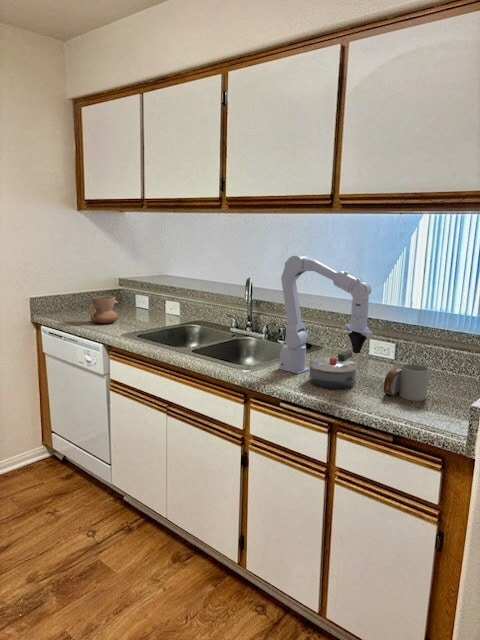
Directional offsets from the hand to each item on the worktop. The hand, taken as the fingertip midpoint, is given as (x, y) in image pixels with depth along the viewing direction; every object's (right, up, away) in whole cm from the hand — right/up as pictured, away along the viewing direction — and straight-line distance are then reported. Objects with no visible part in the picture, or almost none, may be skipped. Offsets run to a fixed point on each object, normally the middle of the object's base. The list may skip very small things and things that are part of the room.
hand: (356, 352), depth 176 cm
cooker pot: (-8, -10, +1) cm, 13 cm away
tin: (+11, -13, -10) cm, 19 cm away
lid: (-8, -4, -1) cm, 9 cm away
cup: (+16, -14, -13) cm, 25 cm away
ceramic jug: (-117, +10, +91) cm, 148 cm away
